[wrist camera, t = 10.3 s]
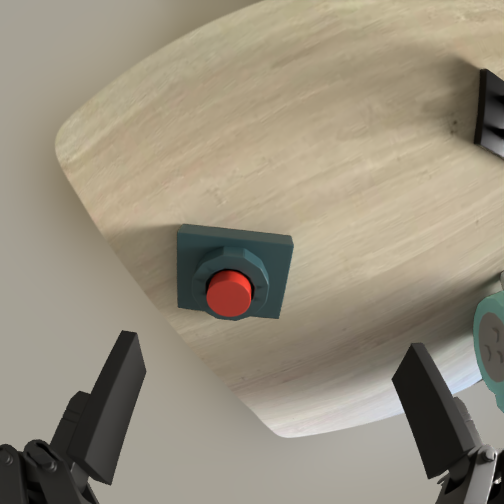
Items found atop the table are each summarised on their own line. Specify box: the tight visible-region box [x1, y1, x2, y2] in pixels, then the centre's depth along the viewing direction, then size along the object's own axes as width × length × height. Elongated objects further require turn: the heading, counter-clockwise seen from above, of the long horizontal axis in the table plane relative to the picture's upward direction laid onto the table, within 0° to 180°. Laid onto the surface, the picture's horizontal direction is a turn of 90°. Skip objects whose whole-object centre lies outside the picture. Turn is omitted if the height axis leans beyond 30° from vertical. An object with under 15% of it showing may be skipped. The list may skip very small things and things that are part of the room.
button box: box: [177, 224, 294, 321], centre depth 26 cm, size 10×8×4 cm
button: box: [206, 270, 251, 317], centre depth 24 cm, size 4×4×2 cm
